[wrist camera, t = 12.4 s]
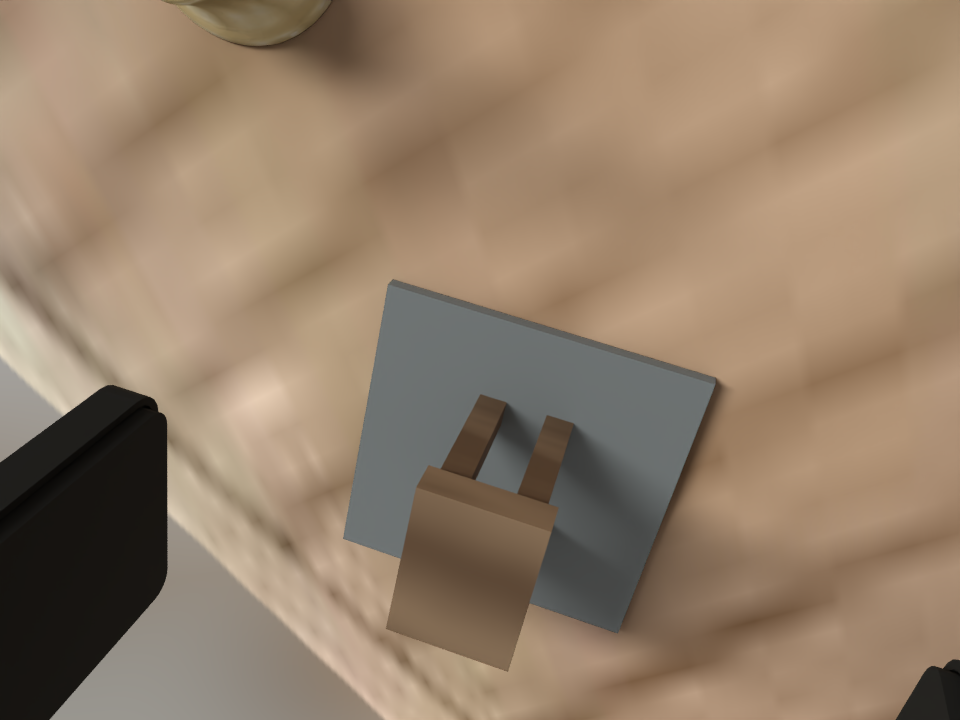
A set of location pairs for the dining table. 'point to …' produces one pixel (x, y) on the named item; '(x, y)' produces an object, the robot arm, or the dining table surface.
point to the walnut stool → (476, 544)
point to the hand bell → (253, 18)
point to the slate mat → (528, 437)
